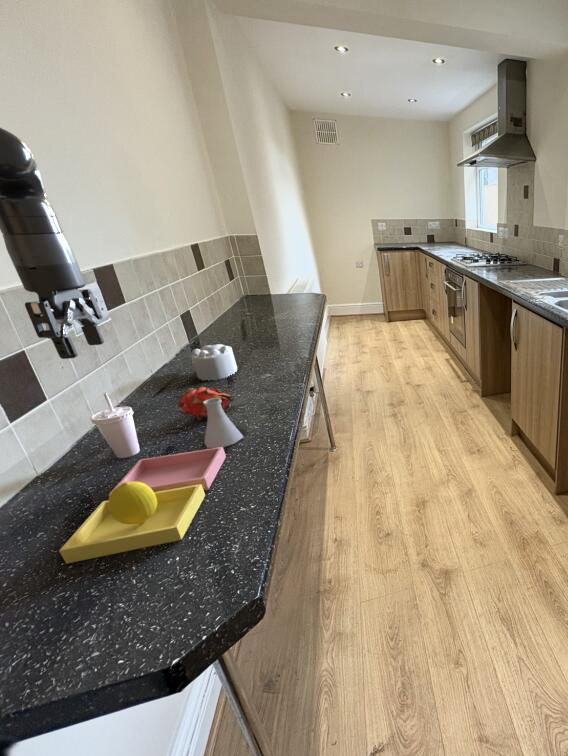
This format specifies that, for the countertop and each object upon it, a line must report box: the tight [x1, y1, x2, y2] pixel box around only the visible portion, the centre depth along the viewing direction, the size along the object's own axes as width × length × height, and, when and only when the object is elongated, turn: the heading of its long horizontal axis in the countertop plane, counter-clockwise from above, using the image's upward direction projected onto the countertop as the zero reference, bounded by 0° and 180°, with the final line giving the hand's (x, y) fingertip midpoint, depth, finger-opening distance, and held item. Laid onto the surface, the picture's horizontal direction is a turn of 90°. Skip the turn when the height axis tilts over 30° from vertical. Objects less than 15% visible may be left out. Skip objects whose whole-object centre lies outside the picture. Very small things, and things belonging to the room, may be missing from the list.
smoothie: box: [90, 391, 141, 459], centre depth 85 cm, size 6×6×14 cm
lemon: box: [107, 482, 157, 525], centre depth 65 cm, size 6×6×8 cm
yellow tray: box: [58, 484, 206, 565], centre depth 66 cm, size 14×12×2 cm
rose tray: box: [108, 447, 227, 497], centre depth 78 cm, size 14×12×2 cm
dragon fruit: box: [176, 386, 235, 421], centre depth 102 cm, size 8×8×12 cm
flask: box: [203, 398, 244, 449], centre depth 90 cm, size 7×7×10 cm
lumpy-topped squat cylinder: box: [190, 343, 238, 382], centre depth 130 cm, size 10×13×9 cm
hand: (83, 350), depth 77 cm, fingers open, 8 cm apart
